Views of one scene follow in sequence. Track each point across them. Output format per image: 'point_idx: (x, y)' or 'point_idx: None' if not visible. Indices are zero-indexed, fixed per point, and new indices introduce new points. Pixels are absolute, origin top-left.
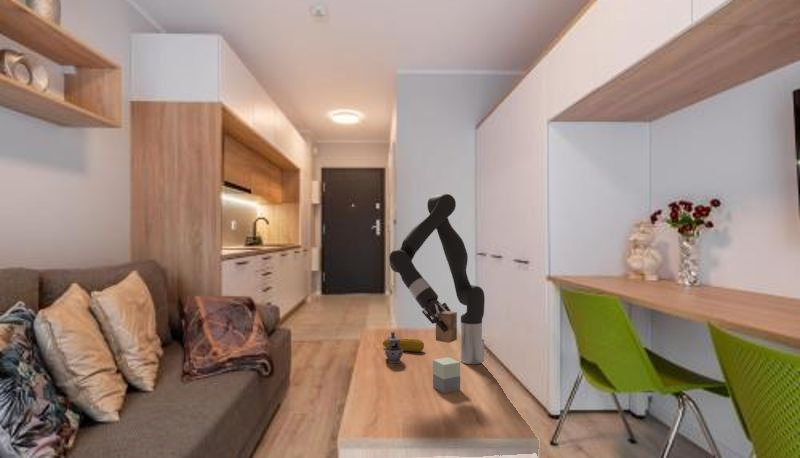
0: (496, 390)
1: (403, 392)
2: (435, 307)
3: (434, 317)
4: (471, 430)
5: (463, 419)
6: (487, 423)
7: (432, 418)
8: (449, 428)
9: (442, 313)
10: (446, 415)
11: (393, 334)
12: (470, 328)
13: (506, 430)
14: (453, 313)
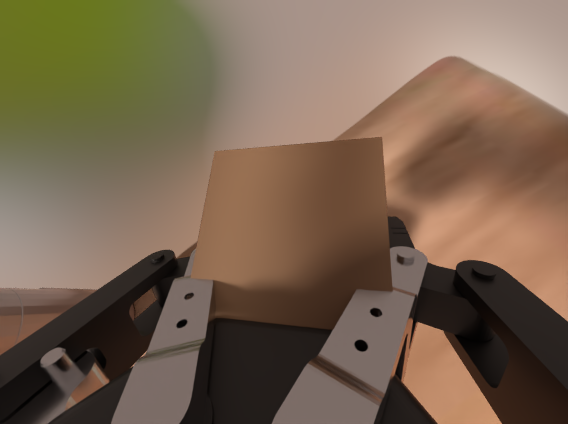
0: None
1: (453, 388)
2: (384, 400)
3: (527, 289)
4: (516, 121)
5: (480, 158)
6: (456, 117)
7: (541, 212)
8: (551, 156)
9: (381, 229)
10: (494, 195)
11: None
12: (7, 321)
13: (456, 83)
14: (282, 146)
